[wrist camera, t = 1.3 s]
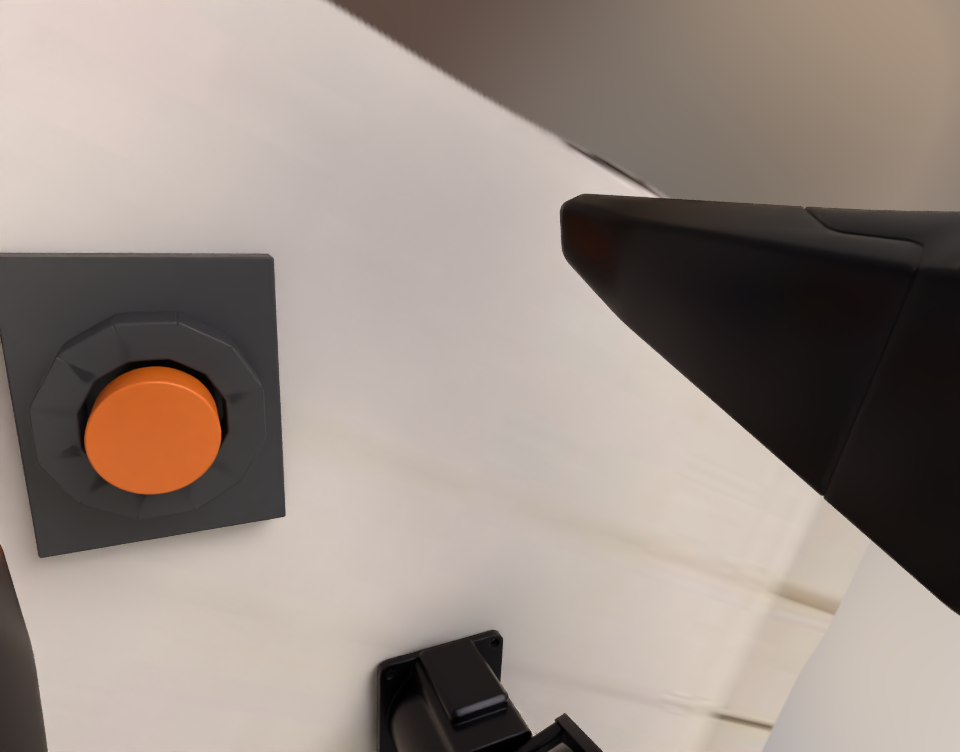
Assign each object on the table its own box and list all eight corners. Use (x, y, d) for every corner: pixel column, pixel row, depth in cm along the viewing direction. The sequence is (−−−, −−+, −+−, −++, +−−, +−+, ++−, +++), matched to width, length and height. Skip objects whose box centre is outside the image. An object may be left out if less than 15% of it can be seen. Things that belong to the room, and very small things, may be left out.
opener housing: (281, 503, 25) (293, 540, 23) (45, 541, 22) (27, 589, 19) (269, 253, 22) (281, 263, 20) (-4, 252, 19) (-33, 264, 16)
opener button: (221, 463, 21) (225, 485, 20) (98, 479, 20) (92, 504, 18) (213, 361, 20) (217, 376, 19) (83, 370, 19) (75, 386, 17)
